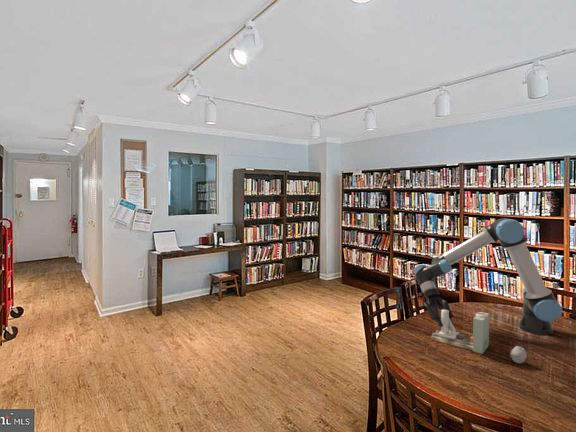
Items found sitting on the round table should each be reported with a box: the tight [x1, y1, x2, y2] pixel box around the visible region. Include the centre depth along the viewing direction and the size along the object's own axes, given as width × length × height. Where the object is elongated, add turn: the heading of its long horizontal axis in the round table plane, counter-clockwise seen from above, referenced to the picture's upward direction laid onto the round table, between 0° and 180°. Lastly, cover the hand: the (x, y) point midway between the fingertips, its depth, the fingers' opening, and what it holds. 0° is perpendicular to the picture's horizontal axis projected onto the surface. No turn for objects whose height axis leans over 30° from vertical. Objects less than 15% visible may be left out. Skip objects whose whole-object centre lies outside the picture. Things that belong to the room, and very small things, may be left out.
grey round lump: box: [509, 345, 528, 365], centre depth 152 cm, size 6×7×7 cm
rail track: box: [430, 329, 473, 351], centre depth 174 cm, size 20×10×2 cm, turn 47°
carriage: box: [438, 309, 466, 340], centre depth 175 cm, size 11×8×12 cm
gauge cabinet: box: [472, 311, 490, 354], centre depth 166 cm, size 5×12×17 cm, turn 137°
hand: (449, 332), depth 174 cm, fingers closed on carriage, 4 cm apart
